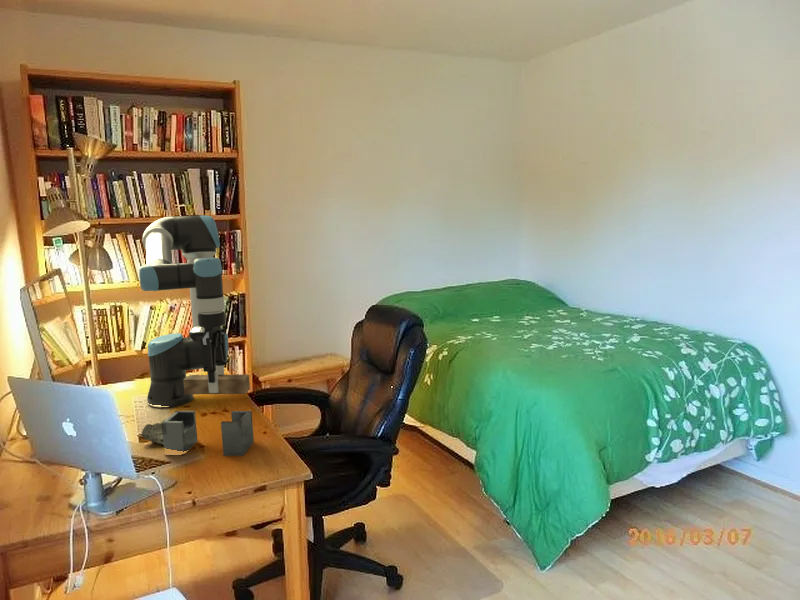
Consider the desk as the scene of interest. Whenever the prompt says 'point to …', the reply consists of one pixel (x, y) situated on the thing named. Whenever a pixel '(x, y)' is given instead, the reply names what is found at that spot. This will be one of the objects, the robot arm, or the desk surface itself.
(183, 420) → the bracket
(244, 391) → the rail
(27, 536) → the desk surface
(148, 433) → the rock sample
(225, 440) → the bracket
